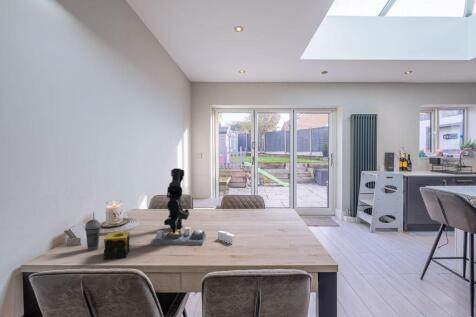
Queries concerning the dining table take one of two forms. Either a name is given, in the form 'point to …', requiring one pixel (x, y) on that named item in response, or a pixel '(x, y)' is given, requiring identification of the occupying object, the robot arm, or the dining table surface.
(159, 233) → the grey metal block
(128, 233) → the black and yellow box
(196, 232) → the button grey
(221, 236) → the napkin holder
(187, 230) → the lever ivory
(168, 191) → the robot arm
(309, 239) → the dining table surface
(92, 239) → the beverage cup
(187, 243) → the control panel
